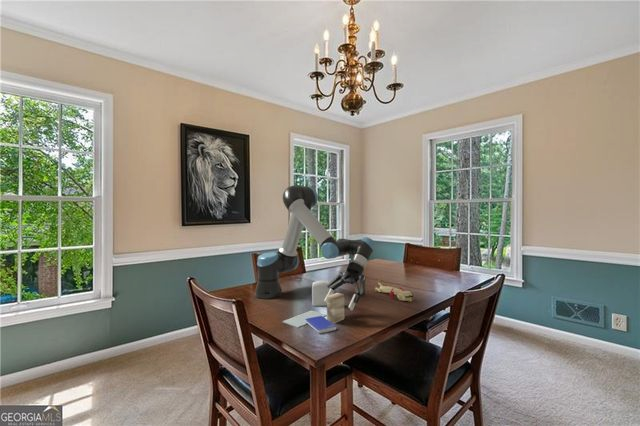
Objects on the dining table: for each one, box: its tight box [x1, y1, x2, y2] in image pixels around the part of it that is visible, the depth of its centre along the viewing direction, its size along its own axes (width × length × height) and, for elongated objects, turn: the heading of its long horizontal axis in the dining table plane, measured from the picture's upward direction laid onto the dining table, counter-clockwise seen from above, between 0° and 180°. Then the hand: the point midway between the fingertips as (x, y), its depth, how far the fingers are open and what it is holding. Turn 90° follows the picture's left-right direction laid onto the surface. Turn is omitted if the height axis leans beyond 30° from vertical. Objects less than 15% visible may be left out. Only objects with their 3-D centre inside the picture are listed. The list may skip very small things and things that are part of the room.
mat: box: [282, 310, 327, 329], centre depth 134 cm, size 10×18×1 cm, turn 138°
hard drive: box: [305, 316, 337, 334], centre depth 125 cm, size 2×8×12 cm
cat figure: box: [374, 278, 414, 302], centre depth 165 cm, size 10×9×25 cm
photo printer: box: [311, 280, 331, 307], centre depth 152 cm, size 10×4×12 cm, turn 90°
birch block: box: [326, 292, 345, 325], centre depth 132 cm, size 4×7×11 cm, turn 138°
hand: (337, 305), depth 132 cm, fingers open, 13 cm apart
